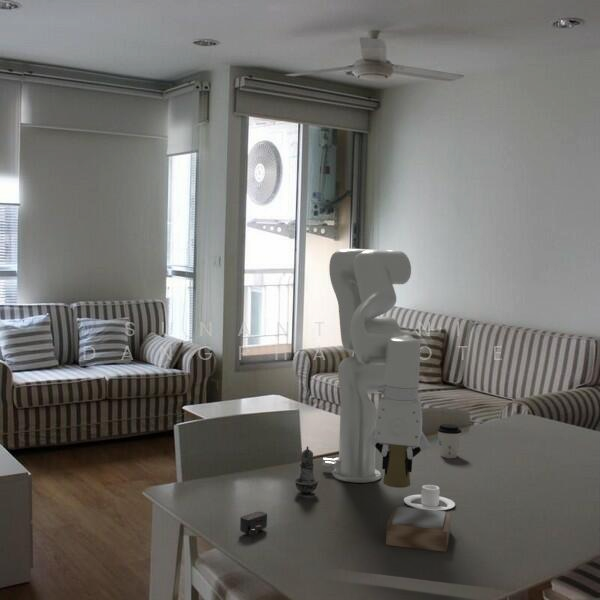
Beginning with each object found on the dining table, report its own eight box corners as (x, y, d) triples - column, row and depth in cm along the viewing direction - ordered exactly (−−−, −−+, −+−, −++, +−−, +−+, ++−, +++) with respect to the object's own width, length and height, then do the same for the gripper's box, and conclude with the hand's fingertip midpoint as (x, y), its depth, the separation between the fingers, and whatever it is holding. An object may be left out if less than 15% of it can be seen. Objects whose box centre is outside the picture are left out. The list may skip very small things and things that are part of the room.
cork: (393, 489, 174) (395, 439, 173) (377, 480, 179) (380, 432, 178) (415, 485, 176) (418, 437, 175) (400, 477, 182) (402, 430, 181)
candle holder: (417, 514, 180) (418, 496, 180) (395, 498, 191) (396, 481, 191) (464, 511, 184) (465, 493, 183) (439, 496, 195) (440, 478, 195)
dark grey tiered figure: (322, 494, 193) (323, 445, 192) (312, 500, 187) (313, 450, 187) (300, 490, 195) (301, 442, 194) (289, 496, 190) (291, 447, 189)
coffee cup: (464, 459, 230) (465, 425, 230) (455, 464, 224) (456, 429, 224) (441, 455, 234) (442, 422, 234) (432, 460, 228) (433, 426, 228)
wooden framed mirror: (385, 544, 159) (386, 522, 159) (393, 525, 171) (394, 504, 171) (446, 551, 157) (447, 528, 156) (449, 531, 168) (450, 510, 168)
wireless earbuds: (236, 532, 164) (236, 518, 164) (258, 525, 170) (259, 510, 169) (251, 538, 162) (252, 523, 161) (274, 530, 167) (274, 515, 167)
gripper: (361, 393, 174) (357, 474, 176) (437, 400, 170) (432, 483, 172) (366, 386, 181) (362, 464, 183) (440, 393, 177) (435, 473, 179)
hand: (396, 472), depth 177 cm, fingers closed on cork, 3 cm apart
